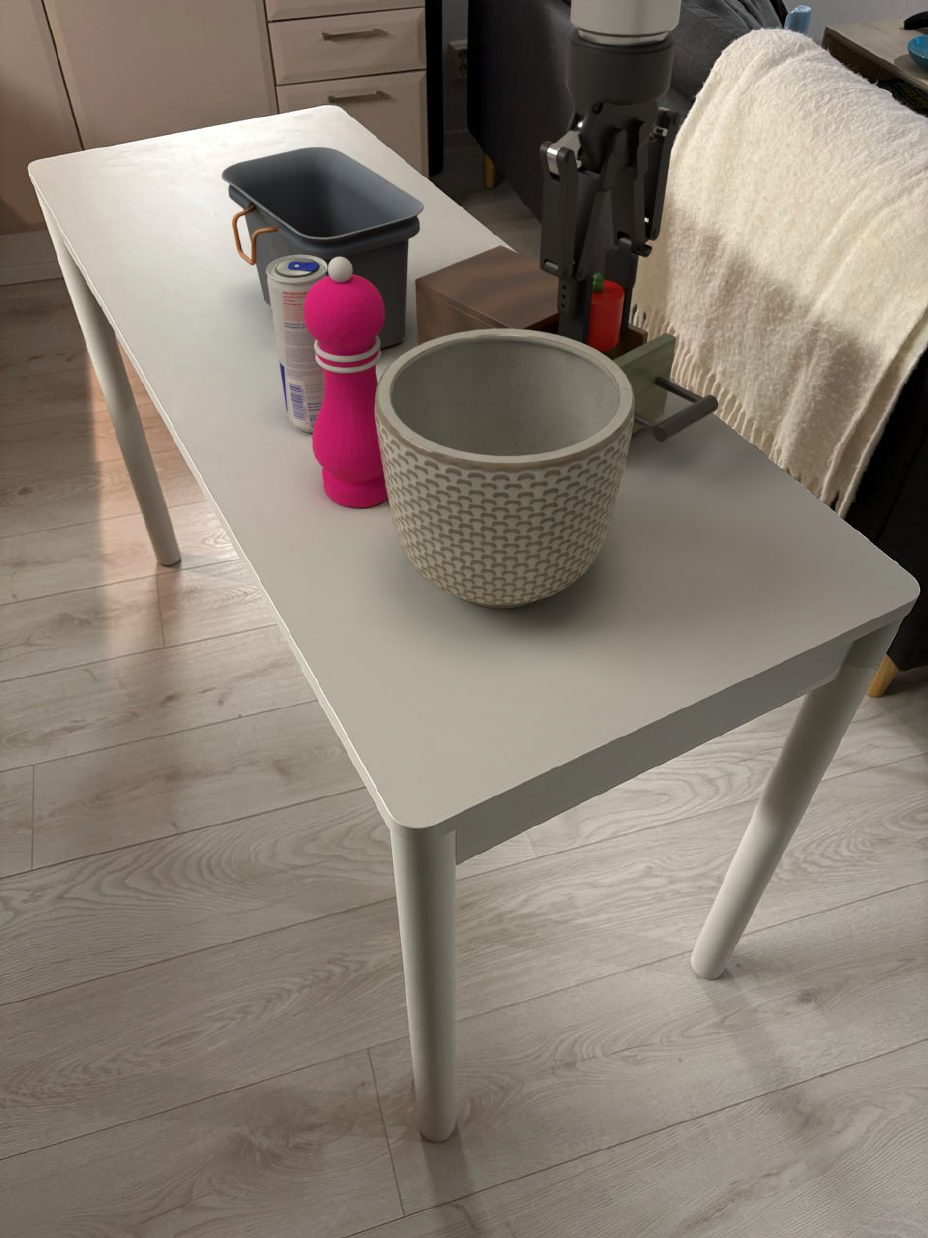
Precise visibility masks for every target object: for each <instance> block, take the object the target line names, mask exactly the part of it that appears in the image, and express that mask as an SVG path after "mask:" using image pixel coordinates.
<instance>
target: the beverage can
mask: <svg viewBox="0 0 928 1238" xmlns="http://www.w3.org/2000/svg"><path fill="white" fill-rule="evenodd" d="M327 270H328V266H327V264H326V262H325V261H324V260H322V259H320V258H318V257H315V256H310V255H291V256H286V257H282V258H279V259H276V260H274V261H273V262H271V263H270V264H269V265H268V266H267V269H266V273H267V275H268V277H267V282H268V289H269V296H270V302H271V306H270V308H271V315H272V322H273V329H274V336H275V340H276V341H275V342H276V348H277V355H278V362H279V369H280V375H281V382H282V389H283V395H284V401H285V407H286V409H285V410H286V414H287V419H288V421H289V422H290V424H291V425H292V426H294V427H295V428H298V429H299V430H300V431H302V432H305V433H310V434H313V430H314V425H315V421H316V419H317V416H318V413H319V411H320V408H321V405H322V402H323V397H324V391H325V387H324V373H323V368H322V367H321V366H320V365H319V364H318V363H317V361H316V358H315V355H316V351H315V348H314V343H315V340H316V339H315V338H314V337H313V336H312V335H311V334H310V332H309V331H308V330H307V327H306V325H305V321H304V311H303V309H304V301H305V298H306V296H307V293H308V292H309V290H310V288H311V287H312V286H313V285H314V284H315V283H316V282H318V281H319V280H321V279H323V278H324V277H327V276H329V274H328V272H327Z"/></svg>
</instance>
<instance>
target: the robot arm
mask: <svg viewBox="0 0 928 1238" xmlns="http://www.w3.org/2000/svg"><path fill="white" fill-rule="evenodd" d="M570 3H571V4H570V16H569V17H570V19H569V22H570V23H571V24H572V25H573V26H574V28H575V29H573V31H572V32H571V34H570V35H569V36H568V38H567V53H566V67H565V69H566V70H565V86H566V89H567V90H568V92H569V94H570V96H571V98H572V101H573V107H572V111H571V114H570V117H569V121H568V123H567V127H566V128H567V130H566V131H567V132H566V133H565V135H563V136H562V137H560V138H559V140H557V141H556V142H555V143H553V142H552V141H548V140H546V141H543V142H542V143H541V145H540V147H539V151H538V153H539V158H540V164H541V169H542V172H543V184H542V185H543V186H542V206H541V207H542V209H541V227H540V229H541V230H540V231H541V232H540V249H539V262H540V269H541V270H543V271H545V272H547V273H549V274H552V275H554V276H556V277H558V278H559V283H558V298H557V300H558V301H557V310H558V312H559V313H560V316H559V331H558V335H559V336H563V337H566V338H569V339H572V340H575V341H578V342H581V343H583V344H585V345H587V344H588V334H589V323H590V312H591V301H592V290H593V280H594V277H593V275H592V276H591V275H589V274H588V271H589V265H590V262H591V257H592V253H593V249H594V245H595V241H596V236H597V231H598V228H599V223H600V220H601V215H602V211H603V208H604V207H603V206H604V202H605V198H606V195H607V192H609V191H610V199H611V201H610V202H611V217H612V234H613V236H612V237H613V245H614V247H617V249H615V248H613V247H611V248H609V249H606V250H605V259H604V268H603V276H604V280H608V281H612V282H614V283H616V284H618V285H620V286H621V287H622V288H623V290H624V293H625V294H624V302H623V311H622V319H621V328H620V333H624V332H626V331H628V325H629V323H630V316H631V310H632V309H631V308H632V301H633V291H634V288H635V285H636V282H637V275H638V266H639V261H640V257H642V258H646V259H647V258H648V257H649V256H650V255H651V253H652V251H653V246H652V245H649V244H646V243H647V242H649V241H651V242H654V241H656V240H657V239H658V238H659V236H660V234H661V227H662V222H663V221H662V219H663V214H664V206H665V199H666V192H667V184H668V178H669V171H670V163H671V157H672V149H673V144H674V141H675V138H676V135H677V132H678V129H679V126H680V122H681V118H682V115H681V113H680V112H679V111H677V110H673V109H671V108H668V107H663V106H660V104H659V99H661V98H662V97H664V96H665V95H666V94H667V92H668V91H669V89H670V86H671V79H672V72H673V71H672V70H673V63H674V55H675V48H676V39H675V38H674V36H673V34H672V33H671V31H672V30H674V29H675V28H676V27H677V26H678V24H679V23H680V16H681V8H682V7H681V6H682V0H571V1H570ZM646 219H647V221H646Z"/></svg>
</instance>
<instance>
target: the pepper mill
mask: <svg viewBox="0 0 928 1238" xmlns="http://www.w3.org/2000/svg"><path fill="white" fill-rule="evenodd" d="M352 272H353V269H352V265H351V263H350V262H349V260H347V259H346V258H343V257H336V258H334V259H332V260H331V261H330V263H329V265H328V273H329V276H327V277H324V278H323V279H321V280H319V281H318V282H316V283H315V284H314V285H313V286H312V287H311V288H310V290H309V292H308V293H307V296H306V298H305V301H304V309H303V311H304V321H305V325H306V327H307V330H308V331H309V332H310V334H311V335H312V336H313V337H314V338H315V339H316V340H315V343H314V348H315V351H316V355H315V358H316V361H317V363H318V364H319V365H320V366H321V367H322V368H323V373H324V387H325V391H324V397H323V402H322V405H321V408H320V411H319V413H318V416H317V419H316V421H315V425H314V430H313V433H312V436H311V438H312V452H313V455H314V458H315V460H316V461H317V463H318V465H320V467H322V470H321V474H322V475H321V476H322V485H323V491H324V493H325V495H326V496H327V497H328V499H330V500H331V501H332V502H334V503H335V504H338V505H340V506H344V507H349V508H368V507H373V506H376V505H379V504H381V503H383V502H386V501H387V500H389V499H388V495H387V490H386V484H385V478H384V472H383V466H382V459H381V453H380V447H379V441H378V435H377V428H376V420H375V396H376V389H377V385H378V383H379V381H378V375H377V364H378V363H379V361H380V360H381V356H382V351H381V349H380V348H379V347H380V339H379V337H378V336H377V334H378V333H379V332H380V331H381V329H382V326H383V324H384V320H385V309H384V304H383V300H382V297H381V295H380V293H379V291H378V290H377V288H376V287H375V286H374V285H373V284H372V283H371V282H370V281H368V280H366V279H365V278H363V277H360V276H357V275H354V274H352Z"/></svg>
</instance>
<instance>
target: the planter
mask: <svg viewBox="0 0 928 1238" xmlns="http://www.w3.org/2000/svg"><path fill="white" fill-rule="evenodd" d="M634 400H635V399H634V394H633V389H632V385H631V383H630V381H629V379H628V378H627V376H626V374H625V373H624V372H623V371H622V370H621V368H620V367H619V366H618V365H617V364H615V363H614V362H613V361H612V360H611V359H609V358H608V357H607V356H605V355H604V354H602V353H600V352H599V351H597V350H596V349H594V348H592V347H589V346H587V345H585V344H583V343H581V342H578V341H575V340H572V339H569V338H566V337H563V336H559V335H555V334H551V333H546V332H539V331H533V330H523V329H482V330H472V331H466V332H459V333H455V334H451V335H446V336H442V337H439V338H436V339H433V340H431V341H428V342H425V343H423V344H421V345H419V346H418V345H417V346H415V347H412V348H411V349H409V350H408V351H406V352H405V353H403V354H401V355H400V356H399V357H397V359H395V360H394V361H393V362H391V364H389V365H388V367H387V368H386V369H385V370H384V372H383V373H382V374H381V376H380V378H379V380H378V385H377V389H376V396H375V420H376V428H377V435H378V441H379V447H380V453H381V459H382V466H383V472H384V478H385V484H386V490H387V495H388V499H387V500H388V503H389V508H390V513H391V517H392V521H393V525H394V528H395V531H396V534H397V537H398V540H399V542H400V545H401V547H402V549H403V551H404V554H405V556H406V557H407V558H408V560H409V561H410V563H411V564H412V566H413V567H414V568H415V570H416V571H417V572H418V573H419V574H420V575H421V576H422V577H423V578H424V579H425V580H426V581H428V582H429V583H431V584H432V585H434V586H435V587H436V588H438V589H440V590H441V591H442V592H443V591H444V592H445V593H447V594H449V595H450V596H454V597H457V598H459V599H462V600H464V601H466V602H468V603H470V604H472V605H476V606H479V607H483V608H487V609H495V610H497V609H498V610H499V609H501V610H503V609H505V610H507V609H514V608H518V607H523V606H526V605H528V604H531V603H533V602H536V601H540V600H542V599H545V598H548V597H551V596H553V595H555V594H557V593H559V592H561V591H563V590H564V589H566V588H567V587H569V586H570V585H572V584H574V583H575V582H576V581H578V580H580V578H581V577H582V576H583V575H584V574H585V573H586V572H587V571H588V570H589V568H590V567H591V565H592V564H593V563H594V561H595V559H596V558H597V556H598V555H599V553H600V551H601V549H602V547H603V544H604V541H605V539H606V536H607V533H608V530H609V528H610V525H611V521H612V519H613V515H614V512H615V508H616V504H617V500H618V497H619V494H620V491H621V486H622V481H623V476H624V472H625V467H626V463H627V457H628V453H629V450H630V445H631V439H632V436H633V435H632V434H633V433H632V429H633V422H634V409H635V405H634Z"/></svg>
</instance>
